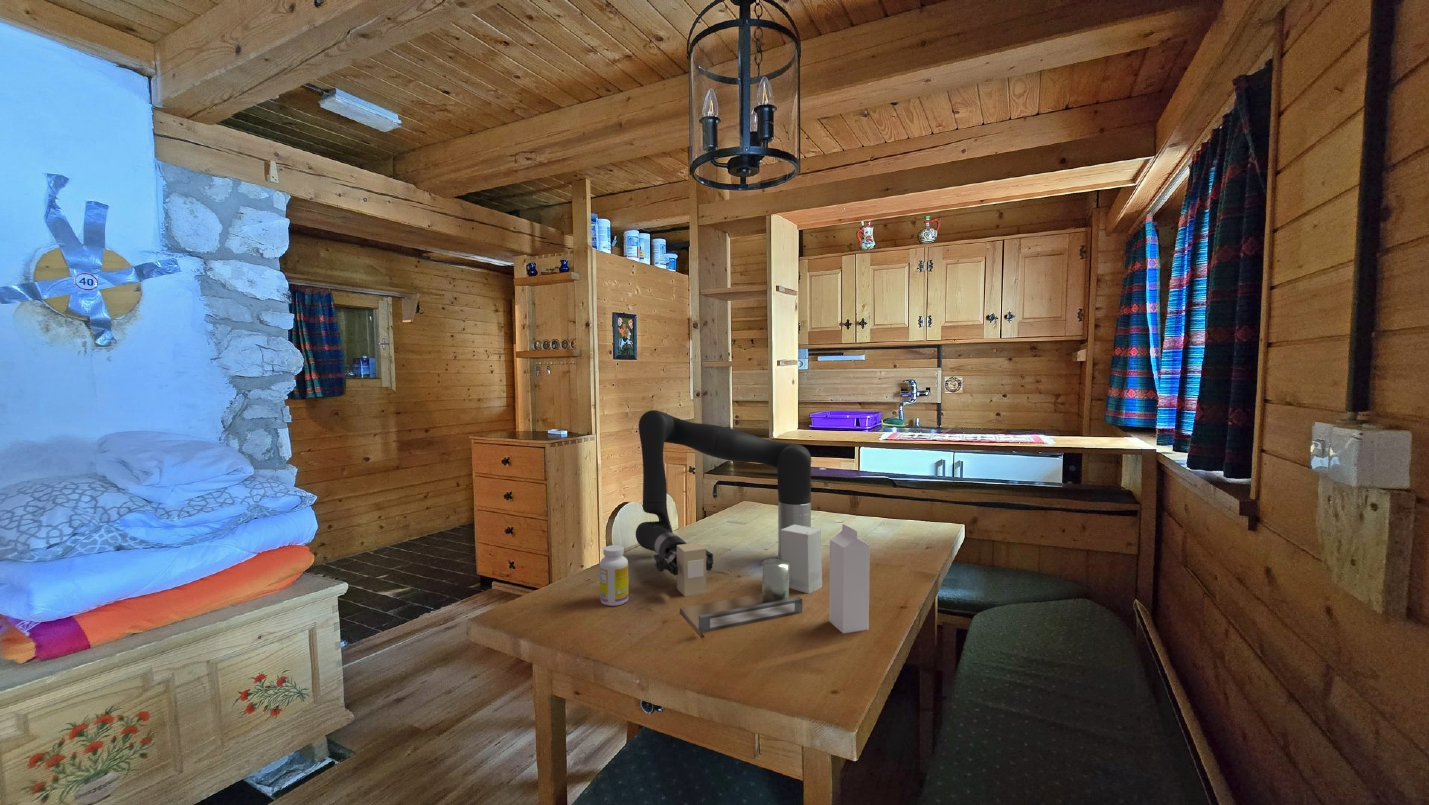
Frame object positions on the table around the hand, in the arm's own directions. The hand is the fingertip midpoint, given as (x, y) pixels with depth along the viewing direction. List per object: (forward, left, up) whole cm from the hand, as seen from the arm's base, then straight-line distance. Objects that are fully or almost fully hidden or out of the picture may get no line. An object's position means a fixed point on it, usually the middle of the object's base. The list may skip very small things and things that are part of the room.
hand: (693, 569), depth 137 cm
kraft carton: (0, -2, -7) cm, 7 cm away
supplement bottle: (+18, -6, -7) cm, 20 cm away
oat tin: (-14, +15, -6) cm, 21 cm away
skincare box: (-26, +6, -7) cm, 28 cm away
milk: (-24, +29, -7) cm, 38 cm away
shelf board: (-6, +13, -7) cm, 16 cm away
